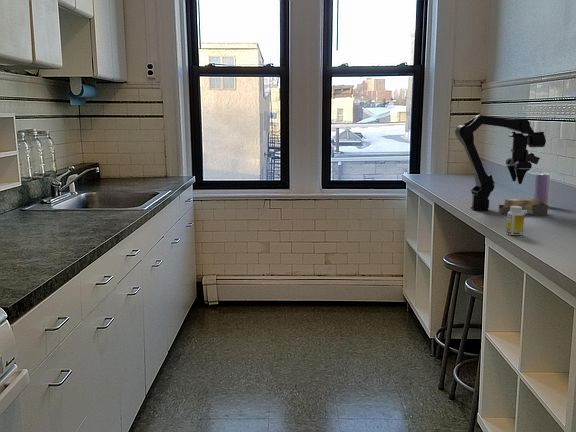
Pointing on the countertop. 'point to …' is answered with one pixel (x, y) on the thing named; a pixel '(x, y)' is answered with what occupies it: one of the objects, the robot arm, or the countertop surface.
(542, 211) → the bracket
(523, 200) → the rail
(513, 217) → the supplement bottle
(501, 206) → the dark grey arch block
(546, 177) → the beverage can
